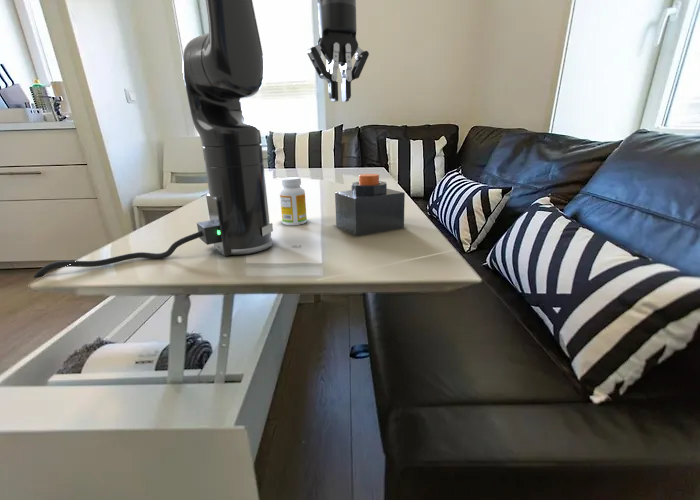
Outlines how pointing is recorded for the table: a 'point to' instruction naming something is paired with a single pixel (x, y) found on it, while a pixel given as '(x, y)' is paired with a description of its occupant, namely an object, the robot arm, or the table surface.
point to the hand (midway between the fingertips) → (340, 101)
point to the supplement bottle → (293, 202)
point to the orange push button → (368, 179)
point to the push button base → (369, 209)
